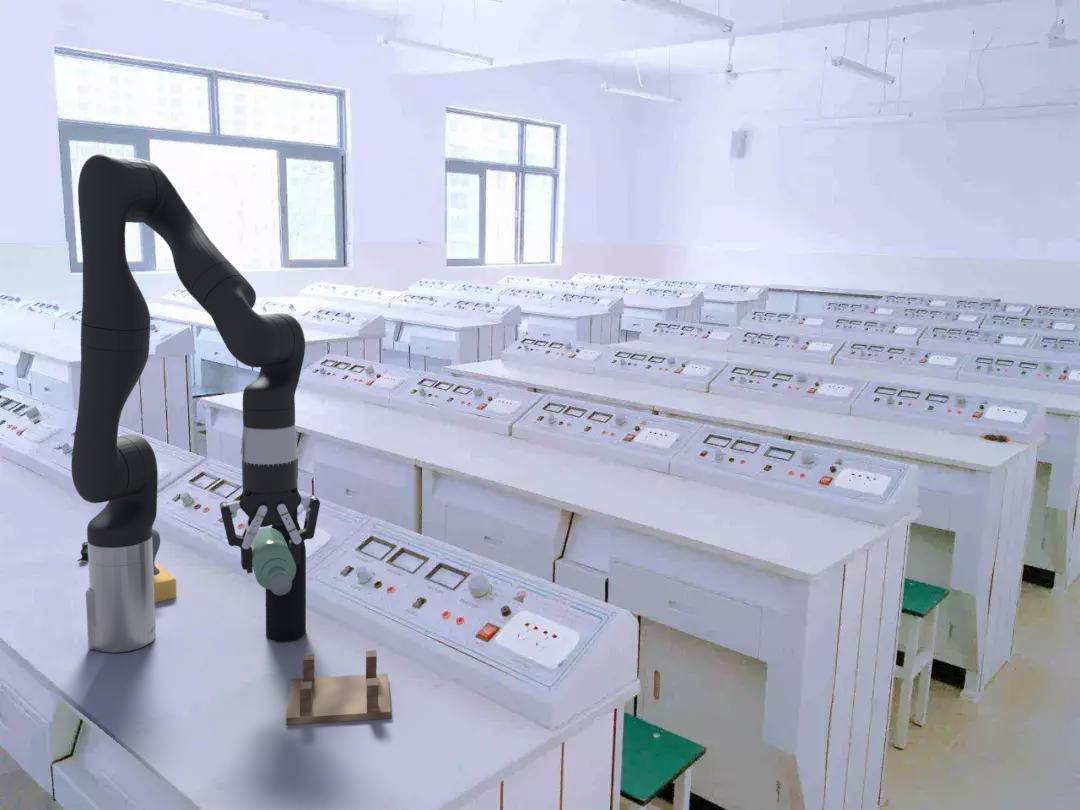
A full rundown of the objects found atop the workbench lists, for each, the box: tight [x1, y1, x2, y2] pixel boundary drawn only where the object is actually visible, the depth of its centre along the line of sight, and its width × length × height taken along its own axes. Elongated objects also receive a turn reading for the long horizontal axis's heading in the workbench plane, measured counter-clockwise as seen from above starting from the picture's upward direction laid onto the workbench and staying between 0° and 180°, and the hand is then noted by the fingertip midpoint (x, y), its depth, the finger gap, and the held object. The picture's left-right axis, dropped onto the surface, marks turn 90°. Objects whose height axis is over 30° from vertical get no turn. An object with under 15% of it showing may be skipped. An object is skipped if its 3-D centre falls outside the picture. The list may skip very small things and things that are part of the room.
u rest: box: [285, 649, 392, 726], centre depth 128 cm, size 14×11×5 cm
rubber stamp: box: [152, 528, 178, 603], centre depth 162 cm, size 10×6×12 cm, turn 41°
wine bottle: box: [265, 457, 307, 643], centre depth 146 cm, size 6×6×30 cm
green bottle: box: [251, 527, 296, 595], centre depth 127 cm, size 16×6×6 cm, turn 23°
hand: (271, 568), depth 129 cm, fingers closed on green bottle, 5 cm apart
